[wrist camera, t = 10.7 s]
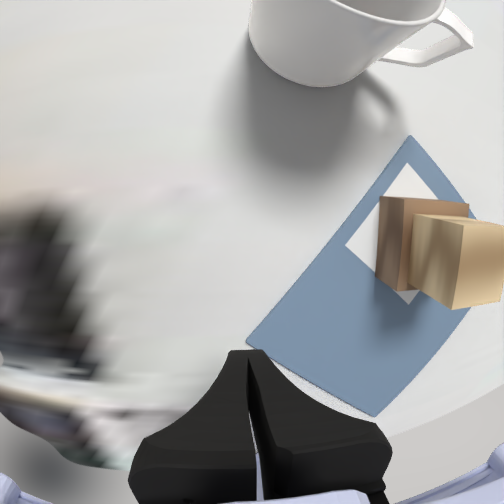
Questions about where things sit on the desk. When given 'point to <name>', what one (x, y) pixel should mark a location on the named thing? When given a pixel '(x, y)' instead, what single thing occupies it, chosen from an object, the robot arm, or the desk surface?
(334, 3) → the mug
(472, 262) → the maple block
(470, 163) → the desk surface
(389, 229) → the walnut base
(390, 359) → the mat
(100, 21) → the desk surface
